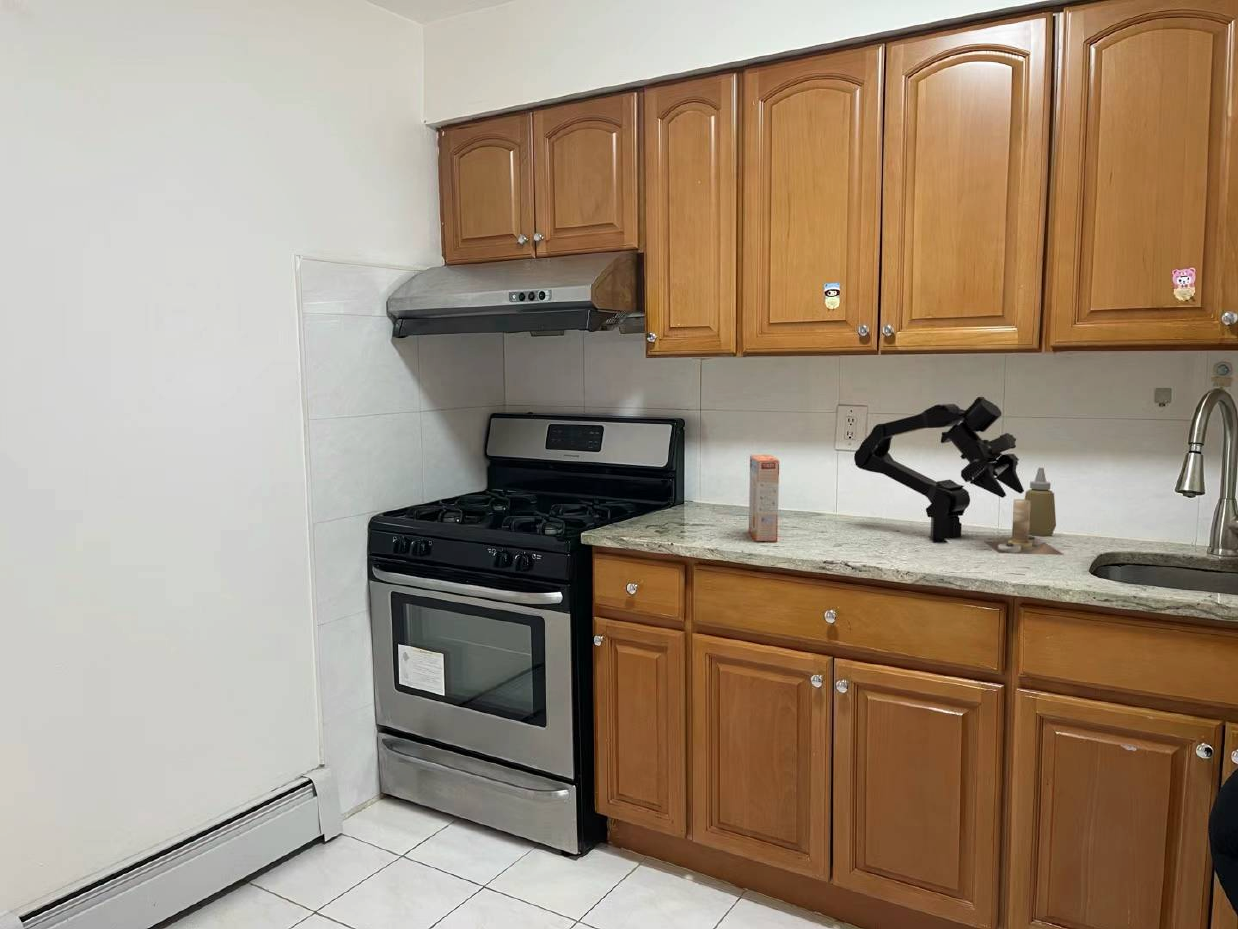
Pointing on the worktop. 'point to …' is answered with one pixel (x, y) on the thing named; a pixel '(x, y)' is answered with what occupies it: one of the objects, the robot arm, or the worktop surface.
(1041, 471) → the squeeze bottle
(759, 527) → the cracker box
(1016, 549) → the gear board
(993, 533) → the worktop surface
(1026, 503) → the gear spindle
